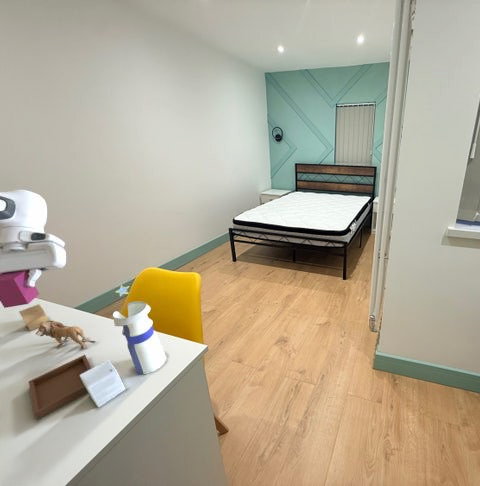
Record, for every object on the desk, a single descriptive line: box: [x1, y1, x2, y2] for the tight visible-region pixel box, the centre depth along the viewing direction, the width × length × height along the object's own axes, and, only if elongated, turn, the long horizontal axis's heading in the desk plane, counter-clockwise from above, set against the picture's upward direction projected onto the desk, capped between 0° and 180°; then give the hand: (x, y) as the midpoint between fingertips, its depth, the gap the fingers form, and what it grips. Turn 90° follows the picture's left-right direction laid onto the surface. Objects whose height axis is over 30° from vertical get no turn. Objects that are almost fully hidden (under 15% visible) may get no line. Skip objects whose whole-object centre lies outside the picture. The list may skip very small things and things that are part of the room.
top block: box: [0, 270, 40, 309], centre depth 71 cm, size 5×5×8 cm
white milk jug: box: [112, 284, 167, 375], centre depth 71 cm, size 8×9×25 cm
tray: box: [28, 354, 93, 420], centre depth 69 cm, size 14×12×2 cm
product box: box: [80, 359, 126, 408], centre depth 66 cm, size 6×6×7 cm
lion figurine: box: [35, 320, 96, 350], centre depth 82 cm, size 15×5×9 cm, turn 92°
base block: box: [18, 304, 50, 331], centre depth 91 cm, size 5×5×6 cm
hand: (13, 289), depth 70 cm, fingers closed on top block, 5 cm apart
